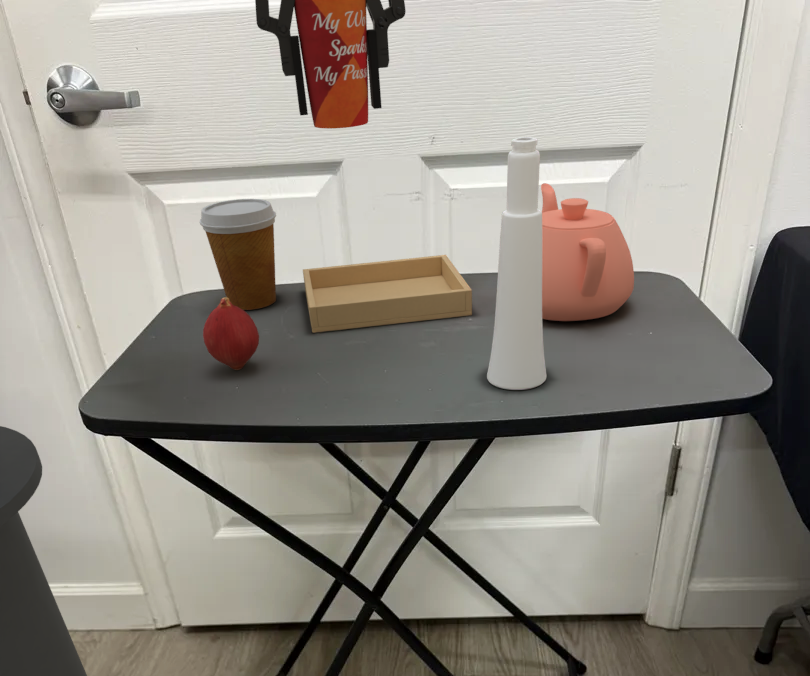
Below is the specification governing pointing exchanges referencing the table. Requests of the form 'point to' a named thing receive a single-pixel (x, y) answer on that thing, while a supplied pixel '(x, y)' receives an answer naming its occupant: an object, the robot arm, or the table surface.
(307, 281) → the tray
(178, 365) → the table surface
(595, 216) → the teapot
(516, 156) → the cosmetic bottle
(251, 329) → the onion
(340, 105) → the paper cup
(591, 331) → the table surface
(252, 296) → the disposable coffee cup
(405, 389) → the table surface
